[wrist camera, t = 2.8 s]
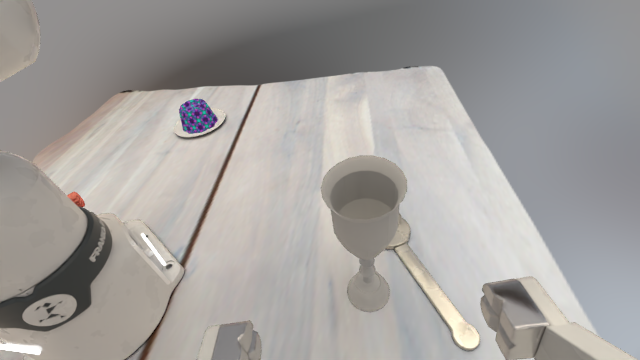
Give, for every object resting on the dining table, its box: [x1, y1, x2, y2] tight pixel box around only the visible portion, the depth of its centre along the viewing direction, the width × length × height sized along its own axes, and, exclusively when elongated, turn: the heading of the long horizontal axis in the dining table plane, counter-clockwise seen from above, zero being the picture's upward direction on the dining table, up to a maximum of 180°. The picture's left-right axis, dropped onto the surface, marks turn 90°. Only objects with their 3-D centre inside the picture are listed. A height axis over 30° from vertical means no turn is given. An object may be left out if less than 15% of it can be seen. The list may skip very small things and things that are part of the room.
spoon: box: [385, 213, 480, 351], centre depth 38 cm, size 21×5×1 cm, turn 22°
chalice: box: [321, 156, 407, 312], centre depth 31 cm, size 7×7×18 cm
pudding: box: [174, 99, 225, 137], centre depth 69 cm, size 12×12×5 cm
